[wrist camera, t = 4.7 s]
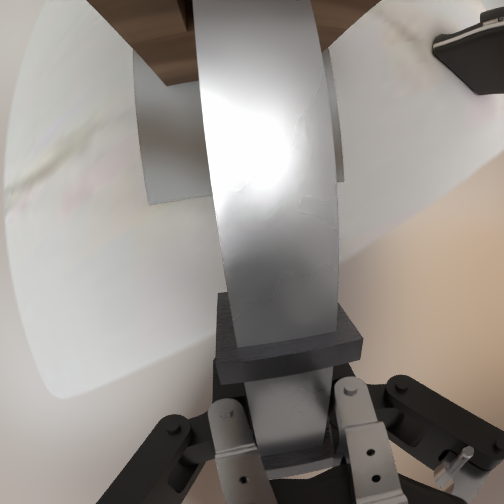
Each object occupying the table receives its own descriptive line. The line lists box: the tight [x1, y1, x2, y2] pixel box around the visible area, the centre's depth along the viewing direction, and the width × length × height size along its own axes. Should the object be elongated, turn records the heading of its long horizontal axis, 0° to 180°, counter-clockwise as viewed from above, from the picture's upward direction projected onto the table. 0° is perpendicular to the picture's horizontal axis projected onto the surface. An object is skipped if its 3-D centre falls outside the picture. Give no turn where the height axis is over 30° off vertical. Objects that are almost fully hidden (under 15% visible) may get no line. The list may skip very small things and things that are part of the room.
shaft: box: [193, 0, 363, 479], centre depth 8 cm, size 21×4×4 cm, turn 6°
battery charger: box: [433, 7, 504, 95], centre depth 9 cm, size 7×4×11 cm, turn 71°
